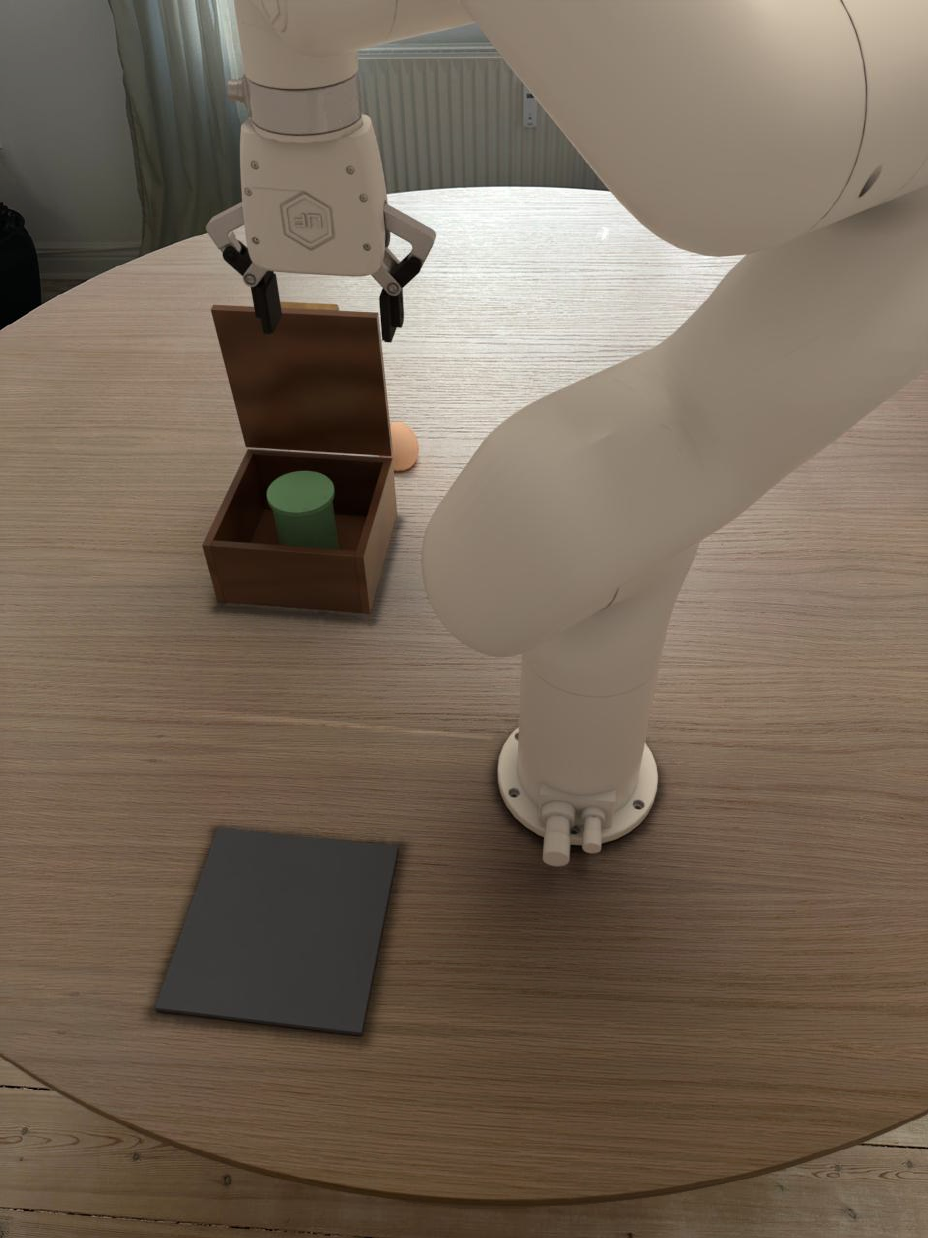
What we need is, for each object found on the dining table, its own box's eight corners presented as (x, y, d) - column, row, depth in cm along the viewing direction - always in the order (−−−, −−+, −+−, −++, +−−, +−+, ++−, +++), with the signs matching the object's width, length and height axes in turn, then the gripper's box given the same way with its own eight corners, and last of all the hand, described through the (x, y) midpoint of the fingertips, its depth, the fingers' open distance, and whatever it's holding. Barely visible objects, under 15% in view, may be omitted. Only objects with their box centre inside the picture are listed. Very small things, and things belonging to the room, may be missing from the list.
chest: (370, 619, 91) (363, 557, 86) (218, 607, 93) (201, 545, 87) (397, 519, 101) (392, 457, 96) (260, 510, 103) (247, 448, 97)
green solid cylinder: (335, 579, 94) (325, 514, 88) (272, 574, 94) (258, 509, 89) (348, 537, 98) (340, 472, 92) (288, 532, 99) (276, 468, 93)
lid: (376, 317, 83) (386, 286, 86) (210, 309, 85) (225, 279, 88) (391, 456, 95) (399, 424, 98) (245, 447, 97) (257, 416, 100)
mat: (362, 1036, 64) (361, 1033, 64) (156, 1011, 66) (154, 1008, 65) (398, 849, 74) (398, 846, 74) (218, 831, 75) (217, 827, 75)
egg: (392, 485, 105) (388, 441, 101) (371, 464, 108) (367, 421, 104) (427, 471, 107) (425, 427, 103) (406, 451, 110) (403, 407, 106)
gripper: (163, 115, 65) (212, 346, 77) (422, 127, 63) (430, 362, 75) (200, 77, 70) (240, 299, 82) (440, 87, 68) (444, 313, 81)
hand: (331, 329), depth 79 cm, fingers open, 9 cm apart
